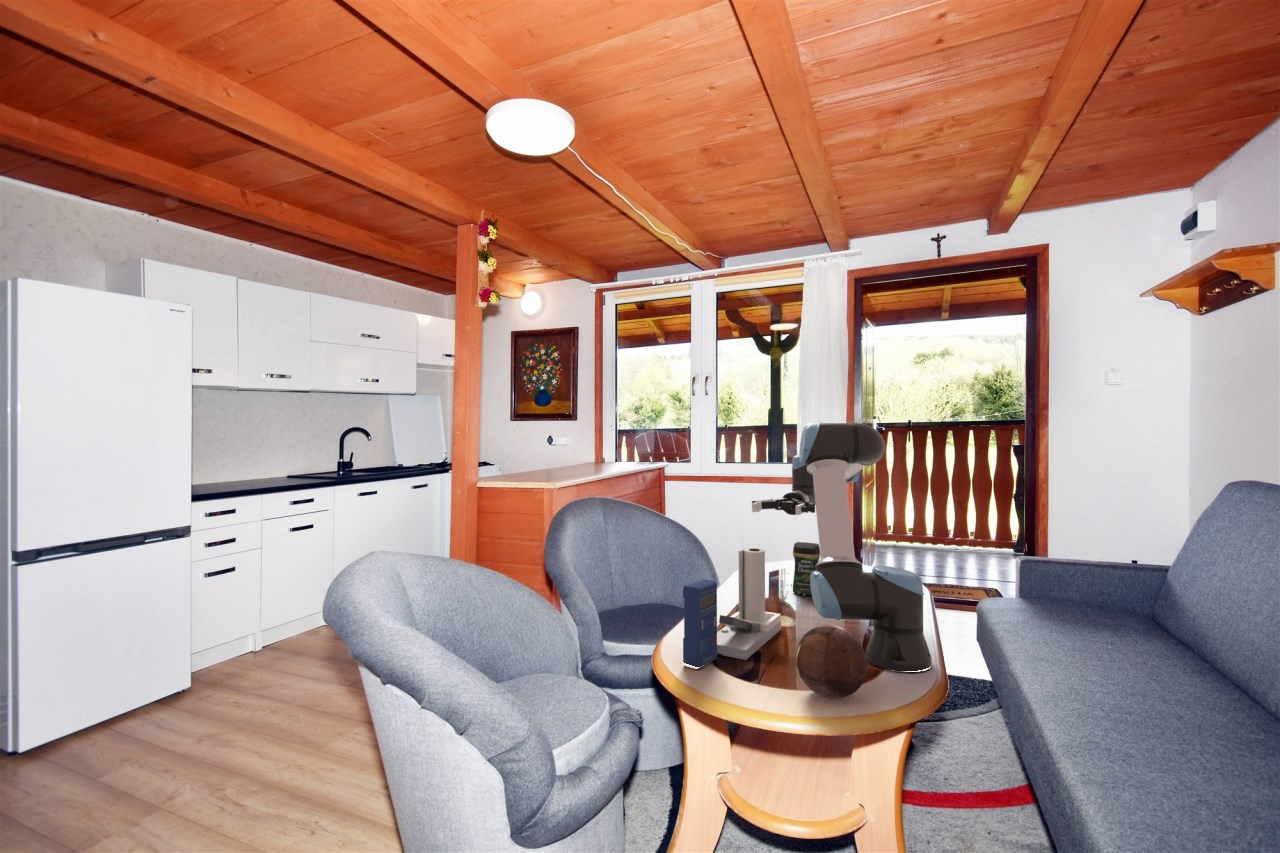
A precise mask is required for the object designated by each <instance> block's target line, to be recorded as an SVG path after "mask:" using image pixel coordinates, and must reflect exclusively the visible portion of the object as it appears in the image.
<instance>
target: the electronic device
mask: <svg viewBox="0 0 1280 853" xmlns="http://www.w3.org/2000/svg"><path fill="white" fill-rule="evenodd" d="M682 598H683V607H684V608H683V617H684V618H683V620H684V621H683V622H684V623H683V624H684V625H683V627H684V628H683V630H684V631H683V635H684V636H683V637H682V646H683V647H682V649H683V650H682V656H683V657H682V661H683V662H684V663H686V664H689V665H692V666H695V667H701V666H703V665H705V664H707V663H709V664H711V663H712V662H714V661H715V660H717V659H718V654H717V632H718V584H717V581H716V580H713V579H708V578H707V579H706V578H703V579H700V580H697V581H694V582H692V583H689V584H686V585H683V587H682ZM707 665H708V664H707ZM705 666H706V665H705ZM703 667H704V666H703Z"/></svg>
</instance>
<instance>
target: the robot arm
mask: <svg viewBox="0 0 1280 853" xmlns="http://www.w3.org/2000/svg"><path fill="white" fill-rule="evenodd" d="M800 437H801V438H800V441H799V443H800V444H799V452H798V453H799V454H798V455H794V456H793V457H792V462H791V472H792V473H791V482H792V485H791V486H792V487H791V491H789V492H786V493H785V494H783V496H782V498H777V499H776V498H775V499H773V498H771V499H760V500H759V499H758V500H752V501H751V512H752V513H759V512H760V511H762V510H776V511H783V512H785V513H786V514H787V515H790V516H799V515H802V514H804V513H805V514H806V513H807V514H808V513H809V512H810V513H812V514H815V513H816V522H817V523H816V525H817V535H818V544H819V548H820V558H819V562H818V563H817V564H816V571H814V572H812V573H811V575H810V583H811V585H810V587H811V593H812V596H811V599H812V601H813V605H814V608H815V609H816V612H817V614H818V615H819V616H821V617H822V618H824V619H828V620H837V621H841V620H857V621H861V620H862V621H863V620H864V621H866V620H867V621H872V624H873V629H872V631H871V634H870V638H869V641H868V645H867V646H866V650H865V651H866V652H865V655H866V659H867V662H868V663H870V664H872V665H873V666H876V667H878V668H881V669H883V670H887V671H891V670H895V671H894V672H896V671H918V670H923V669H926V668H929V667H930V666H931V664H932V665H933V663H932V655H931V653H930V651H929V646H928V642H927V640H926V637H925V634H924V595H925V592H924V588H923V579H922V578H921V576H920V575H918V574H917V573H916V572H913V571H910V570H907V569H903V568H900V567H893V566H889V565H888V566H887V565H874V566H873V567H872V569H871V572H865V571H864V569H863V564H862V562H860V561H859V559H857V558H856V555H855V546H854V538H853V530H852V522H851V516H850V515H851V514H850V506H849V505H850V504H849V497H848V491H847V490H848V488H847V484H848V483H856V482H858V481H859V478H860V471H862V469H864V468H865V467H866V466H873V465H875V464H876V463H877V462H879V461H880V460H881V459H882V458H883V456H884V455H885V451H886V443H885V440H884V438H883V436H882V434H881V433H880V432H879V431H878V430H877V429H875V428H874V427H872V426H871V425H868V424H865V423H862V422H821V421H819V422H816V423H814V422H813V423H807V424H806V425H804V427H803V429H802V432H801V436H800Z"/></svg>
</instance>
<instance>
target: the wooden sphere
mask: <svg viewBox="0 0 1280 853" xmlns="http://www.w3.org/2000/svg"><path fill="white" fill-rule="evenodd" d="M799 640H800V641H798V644H797V646H796V650H795V665H796V670H797V672H798V675H799V676H800V679H801V680H802V681H803V683H804V684H805V685H806V687H808V689H810V690H811V691H812V692H813V693H815V694H816V695H818V696H821V697H823V698H827V699H833V700H836V699H843V698H846V697H847V698H848V697H849V696H852V695H853V694H854V693H856V692H857V691H858V690H859V689H860V688H861V686H862V685H863V683H864V682H865V680H866V676H867V672H868V660H867V658H866V652H865V649H864V648H863V646H862V644H861V643H860V641H859V639H858V638H856V636H854V635H853V634H852V633H851V632H850V631H848V630H847V629H844V628H842V627H841V626H836V625H828V624H824V625H819V626H816V627H812V628H811V629H810V630H808V631H807V632H805V634H804V635H802V637H801V638H800V639H799Z"/></svg>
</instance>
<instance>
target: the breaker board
mask: <svg viewBox="0 0 1280 853" xmlns="http://www.w3.org/2000/svg"><path fill="white" fill-rule="evenodd" d="M729 617H734V618H737V619H739V610H738V611H737V612H734V613H733V614H731V616H729ZM740 620H743V619H740ZM743 621H745V622H748V623H751V624H752V630H751V631H747V630H741V629H736V628H733V627H730V626H727V625H725V626H724V627H722V628H721V629H720V630H717V653H719V654H722V655H721V656H724V657H730V658H735V659H740V660H745V661H747V660H748V659H749V658H751V656H753V654H754V653H756V652H757V651H758V650H760V649H761V647H763V646H764V645H765V644H766V643H767V642H768V641H769V640H771V639H772V638H773V637H774V636H775V635H776V634H778V633H779V632H780V631H781V630H782V615H781V613H776V612H769V611H765V623H761V622H755V621H749V620H743ZM719 654H718V655H719Z"/></svg>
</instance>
